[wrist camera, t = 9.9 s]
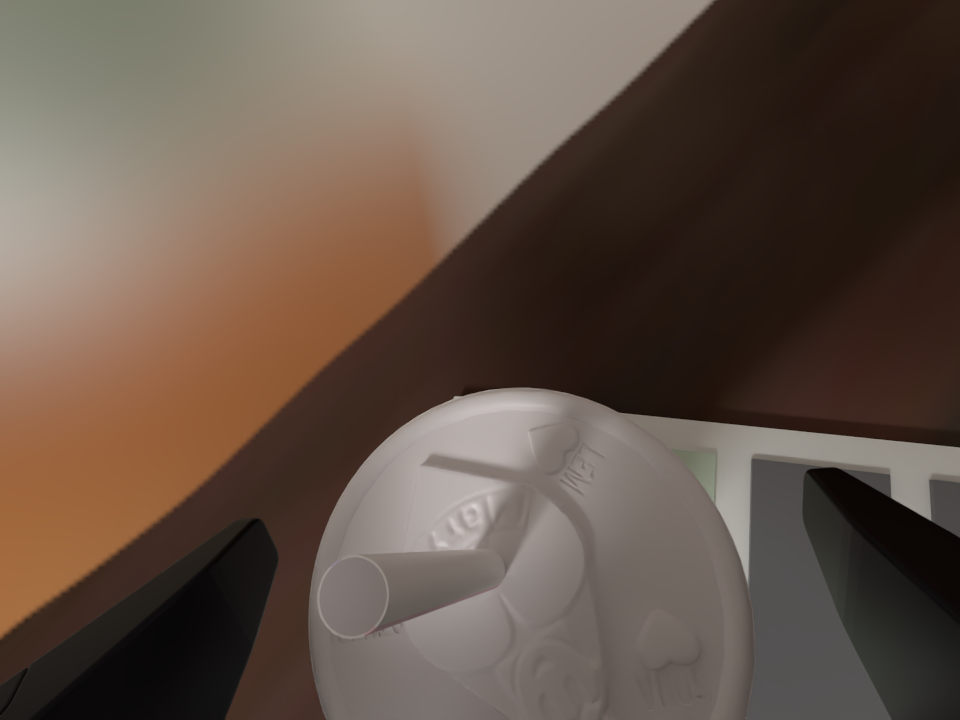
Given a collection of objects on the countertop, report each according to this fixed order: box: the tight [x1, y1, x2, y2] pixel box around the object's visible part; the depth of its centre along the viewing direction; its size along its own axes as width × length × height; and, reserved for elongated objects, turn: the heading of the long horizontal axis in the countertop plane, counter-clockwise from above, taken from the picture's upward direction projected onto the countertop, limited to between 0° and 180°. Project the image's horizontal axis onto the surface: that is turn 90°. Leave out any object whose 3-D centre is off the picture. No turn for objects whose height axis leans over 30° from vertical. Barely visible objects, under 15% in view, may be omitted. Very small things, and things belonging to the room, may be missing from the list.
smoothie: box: [308, 388, 755, 720], centre depth 10 cm, size 6×6×14 cm
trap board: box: [454, 396, 960, 720], centre depth 16 cm, size 10×18×1 cm, turn 81°
